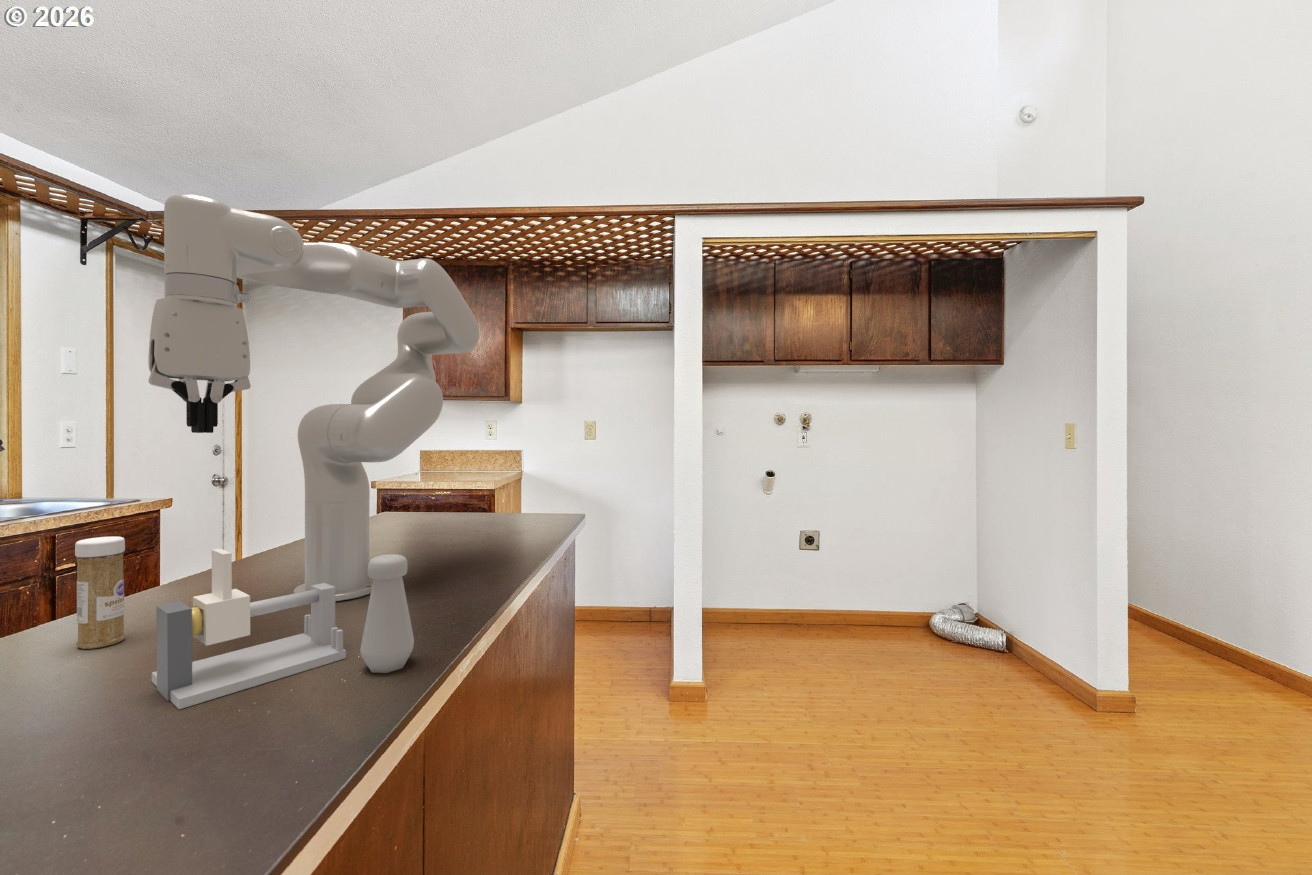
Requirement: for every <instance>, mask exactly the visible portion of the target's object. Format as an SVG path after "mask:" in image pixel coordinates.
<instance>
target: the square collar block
mask: <svg viewBox="0 0 1312 875" xmlns="http://www.w3.org/2000/svg"><path fill="white" fill-rule="evenodd" d="M232 556H233V555H232V552H230V551H228V550H225V549H222V548H214V549H211V593H205V594H201V595H195V596H192V608H194V607H198V608H199V610H200V612H201V613H202V612H204V627H203V628H202V631H201V634H200V635H198V636H193V637H194V638H195V640H197V641H199V642H200V643H202V644H203V645H205V646H211V645H215V644H219V643H223V642H227V641H231V640H235V639H240V638H243V637H247V636H251V617H250V603H251V595H249V594H248V593H246V592H243V591H242V590H239V589H238V588H232V586H233V585H232V582H233V580H232V579H233V578H232V577H233V576H232V575H233V574H232V572H233V571H232V570H233V569H232V567H233V566H232V565H233V563H232V562H233V561H232V560H233V559H232Z"/></svg>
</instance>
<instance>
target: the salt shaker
mask: <svg viewBox="0 0 1312 875" xmlns="http://www.w3.org/2000/svg"><path fill="white" fill-rule="evenodd" d="M369 560H370V561H369V564H368V576H369V578H372V579H373V584H372V590H371V593H370V594H369V595H370V596H369V601H368V606H367V612H366V617H365V623H364V628H363V633H362V638H361V645H360V650H359V651H360V656H361V658H362V660H363V661H364V662H365V664H366V666H367V668H368V669H369V670H370V672H371V673H377V674H389V673H391V672H394V671H398V670H400V669H403V668H404V666H405V665H406V663H407V661H408V659H409V658H410V656H411V653H412V652H413V650H414V647H415V646H414V645H415V638H414V633H413V627H412V622H411V616H410V610H409V606H408V600H407V594H406V590H405V583H404V580H403V579H404V578H403V577H404V576H405V575H407V573H408V568H409V567H408V566H409V565H408V558H406V557H405V556H404V555H401V554H394V553H392V554H389V553H388V554H382V555H381V554H380V555H377V556H375V557H373V558H371V559H369Z"/></svg>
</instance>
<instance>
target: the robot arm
mask: <svg viewBox="0 0 1312 875" xmlns="http://www.w3.org/2000/svg"><path fill="white" fill-rule="evenodd" d="M163 216H164V217H163V220H164V221H163V222H164V223H163V224H164V225H163V229H164V230H163V232H164V233H163V235H164V236H163V241H164V242H163V245H164V246H163V247H164V250H163V251H164V254H163V255H164V256H163V257H164V259H163V260H164V265H163V266H164V269H163V272H164V274H163V275H164V298H159V299H156V300H155V303H154V306H153V312H152V317H151V322H150V323H151V324H150V332H149V343H148V360H147V361H148V363H147V364H148V370H149V372H150V375H149V376H148V380H147V381H148V383H149V384H150V385H152V386H155V387H159V388H163V389H168V390H171V391H173V392H174V394H176V395H177V396H178V397H179V398H181V399H182V401H183V402H184V403H186V404H185V405H186V409H185V410H186V421H185V422H186V426H187V428H188V427H190V428H191V433H195V434H198V433H199V434H203V433H206V434H212V433H214V427H218V425H219V412H218V411H219V410H218V407H219V405H218V404H219V403H221V402H222V400H223V399H224V398H226V397H227V396H228V395H230V394H231V393H233V392H239V391H245V390H249V389H251V386H252V384H251V383H250V378H249V376H250V374H251V373H250V372H251V353H250V351H251V350H250V343H249V336H248V330H247V324H246V320H245V316H244V312H243V309H242V308H241V307H238V305H239V303H244V304H245V303H246V304H248V303H249V301H250V294H249V293H248V292H244V291H242V290H241V291H240V288H239V285H237V281H238V280H237V279H238V278H239V279H242V280H246V281H251V282H254V283H258V284H264V285H267V286H268V285H269V286H273V287H274V286H275V287H280V288H289V289H295V290H300V291H301V290H302V291H307V292H314V293H320V294H327V295H328V294H329V295H338V296H342V297H347V298H351V299H355V300H359V301H365V302H368V303H372V304H377V305H380V306H384V307H389V308H395V309H407V308H421V307H428V308H429V309H430V311H424V312H417V313H413V314H410V315H408V316H407V317H405V318H404V319H403V320H402V321H401V322H400V325H399V327H398V330H397V337H396V338H397V356H396V358H395V359H394V360H393V361H392V362H391V363H390V364H388V365H387V366H385V367H384V368H382V369H381V370H380V371H377V372H376V373H375V374H373V375H372V376H370V377H369V378H367V379H366V380H364V381H363V382H362V383H360V385H358V386H357V387H356V389H355V390H354V392H353V393H352V395H351V400H350V403H330V404H324V405H320V406H319V405H318V406H317V407H314V408H313V409H311V410H309V411H307V413H306V414H304V416H303V417H301V420H300V422H299V424H298V429H297V442H298V448H299V452H300V456H301V461H302V466H303V467H302V468H303V475H304V476H303V477H304V583H302V584H299V585H298V586H296V587H295V588H294V589H293V594H295V593H300V592H304V591H309V590H311V585H316V584H321V583H326V584H329V585H331V586H334V587H335V602H340V601H347V600H352V599H357V598H362V597H364V596H367V595H371V590H372V584H373V579H372V578H369V576H368V564H369V561H370V560H371V559H370V495H371V494H370V491H371V490H370V483H369V479H368V474H367V472H366V470H365V467H364V465H363V463H370V464H371V463H384V462H388V461H390V460H393V459H394V458H396V457H398V456H399V455H401V454H402V453H403V452H404V451H405V450H406V449H407V448H409V447H410V446H411V445H412V444H414V442H416V441H417V440H418V439H419V438H420V437H421V436H422V435H423V434H425V433H426V432H427V431H428V430H429V429H431V427H432V426H433V425H434V424H435V423H436V422H437V420H438V418H440V415H441V412H442V409H443V404H444V396H443V392H442V389H441V387H440V386H439V383H437V382H436V374H435V373H436V372H435V370H434V365H433V359H432V357H433V355H457V354H466V353H468V352H471V351H472V350H474V349H475V348H476V346H477V345H478V343H479V339H480V328H479V325H478V321H477V319H476V317H475V314H474V313H473V311H472V309H471V308H470V306H469V304H468V303H467V301H466V300H465V298H464V297H463V295H462V293H461V292H460V289H459V288H458V287H457V285H456V283H455V282H454V280H453V279H452V277H450V275H449V274H448V272H447V271H446V270H445V269H444V268H443V267H442V266H441V265H440V264H439V263H438V262H436V261H435V260H433V259H430V258H417V259H407V260H395V259H390V258H388V257H387V256H382V255H379V254H376V253H373V252H370V251H367V250H364V249H362V248H359V247H356V246H355V245H354V246H353V245H350V244H348V243H339V242H338V243H336V242H304V241H303V238H302V236H301V234H300V233H299V231H298V230H297V229H296V228H295V227H294V226H293V225H291V224H290V223H289V222H288V221H285V220H284V219H281V218H279V217H276V216H273V215H269V214H264V213H258V212H254V211H249V210H244V209H241V208H235V207H231V206H229V205H227V203H224V202H222V201H219V200H217V199H214V198H211V197H207V196H203V195H199V194H198V195H197V194H188V193H178V194H173V195H170V196H169V197H168V198H167V199H166V201H165V202H164V209H163ZM198 381H206V386H205V392H204V398H202V397H201V395H200V390H199V385H198ZM232 381H233V382H232ZM225 382H228V383H225Z"/></svg>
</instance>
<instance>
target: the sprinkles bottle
mask: <svg viewBox="0 0 1312 875" xmlns="http://www.w3.org/2000/svg"><path fill="white" fill-rule="evenodd" d="M125 542H126V540H125V537H122V536H99V537H91V538H85V539H80V540H78V541H76V542H75V544H74V555H75V557H76V561H77V563H76V564H77V565H76V572H77V573H76V574H77V576H76V577H77V578H76V622H77V634H78V636H77V643H76V647H77V648H79V649H83V650H89V649H91V650H92V649H101V648H105V647H107V646H112V645H115V644H118V643H120V642H122V641H123V640H125V638H126V634H125V627H124V626H125V624H124V622H125V621H124V620H125V618H124V616H125V581H124V552H125V551H126V543H125Z"/></svg>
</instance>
